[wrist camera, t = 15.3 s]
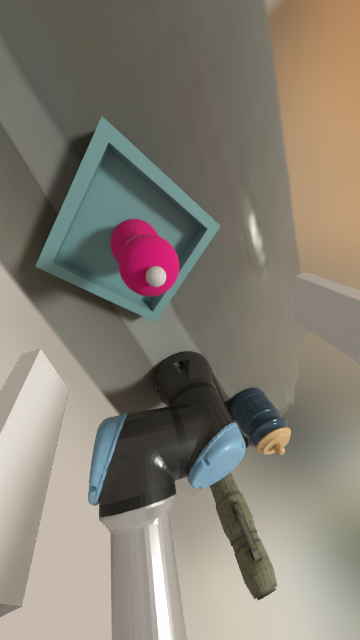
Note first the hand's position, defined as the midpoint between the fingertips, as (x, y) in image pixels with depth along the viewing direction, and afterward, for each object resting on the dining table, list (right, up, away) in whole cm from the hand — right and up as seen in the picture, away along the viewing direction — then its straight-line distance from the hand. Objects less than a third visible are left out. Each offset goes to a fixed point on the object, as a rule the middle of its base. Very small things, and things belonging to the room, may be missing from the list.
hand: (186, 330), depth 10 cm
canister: (+22, -27, +58) cm, 68 cm away
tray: (-8, +14, +24) cm, 29 cm away
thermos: (+9, -45, +64) cm, 79 cm away
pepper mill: (-8, +14, +23) cm, 28 cm away
